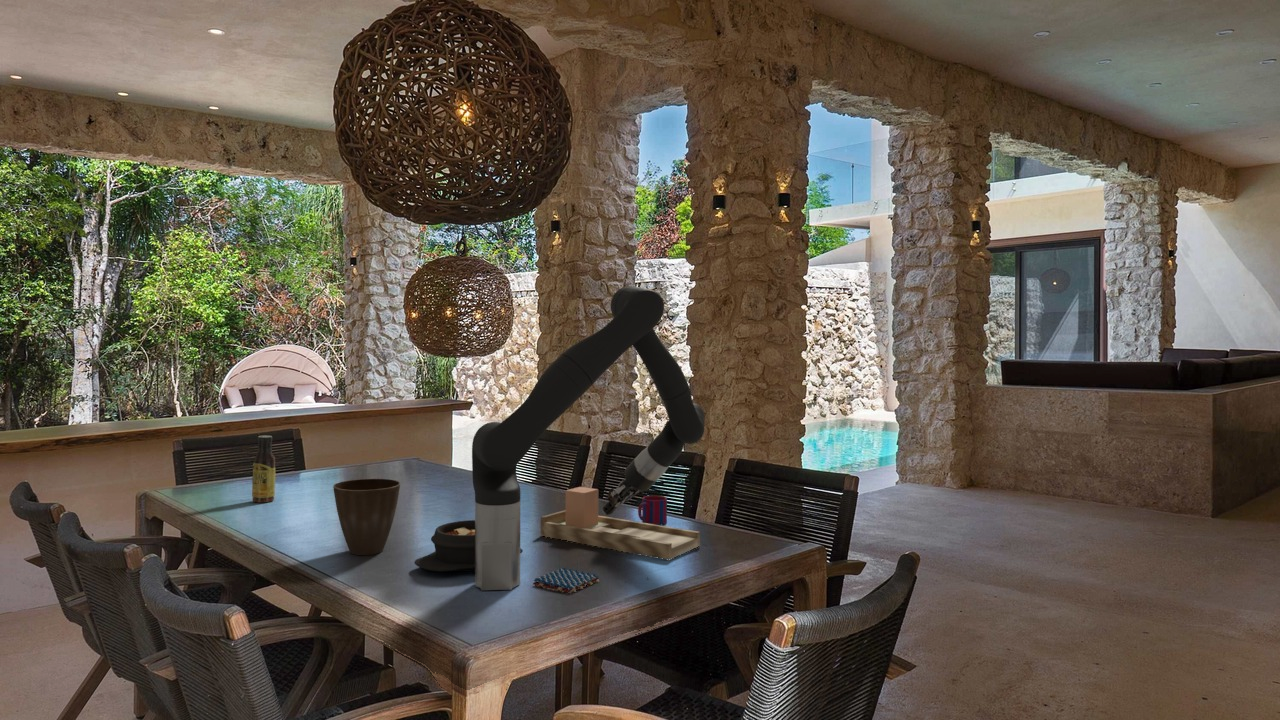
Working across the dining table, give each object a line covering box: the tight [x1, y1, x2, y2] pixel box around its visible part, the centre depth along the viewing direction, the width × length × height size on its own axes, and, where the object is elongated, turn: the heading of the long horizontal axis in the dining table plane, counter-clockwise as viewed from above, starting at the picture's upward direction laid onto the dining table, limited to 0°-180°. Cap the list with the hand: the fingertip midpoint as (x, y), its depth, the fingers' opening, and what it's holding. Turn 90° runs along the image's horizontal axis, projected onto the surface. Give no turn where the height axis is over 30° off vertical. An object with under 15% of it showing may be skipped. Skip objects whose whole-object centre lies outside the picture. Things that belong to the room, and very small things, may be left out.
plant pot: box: [332, 478, 401, 556], centre depth 193 cm, size 15×15×16 cm
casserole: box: [414, 519, 524, 573], centre depth 183 cm, size 25×19×8 cm
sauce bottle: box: [251, 435, 276, 504], centre depth 248 cm, size 7×6×20 cm
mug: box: [637, 495, 668, 526], centre depth 223 cm, size 7×10×7 cm
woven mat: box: [532, 567, 600, 594], centre depth 170 cm, size 10×11×2 cm
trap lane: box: [540, 509, 701, 561], centre depth 204 cm, size 38×14×5 cm, turn 56°
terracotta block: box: [564, 486, 599, 528], centre depth 211 cm, size 6×6×9 cm
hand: (606, 511), depth 206 cm, fingers closed
